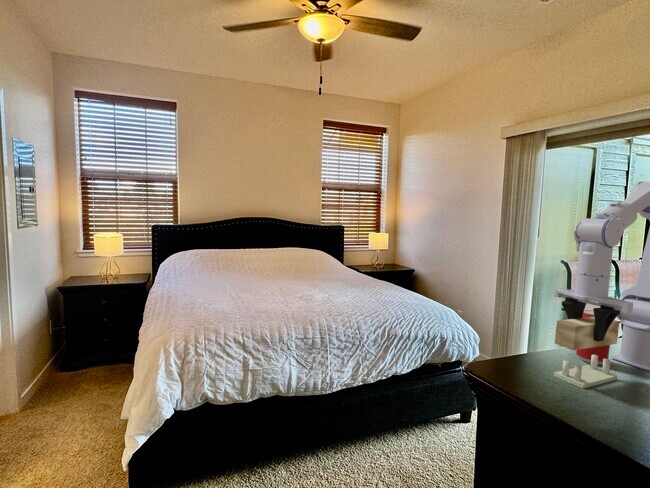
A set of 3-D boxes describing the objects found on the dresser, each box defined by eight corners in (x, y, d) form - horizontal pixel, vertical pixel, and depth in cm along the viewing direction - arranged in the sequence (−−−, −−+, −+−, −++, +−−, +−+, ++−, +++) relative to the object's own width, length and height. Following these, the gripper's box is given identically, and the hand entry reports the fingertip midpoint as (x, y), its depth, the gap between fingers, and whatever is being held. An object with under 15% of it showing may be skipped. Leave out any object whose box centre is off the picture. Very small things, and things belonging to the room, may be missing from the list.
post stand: (587, 368, 84) (589, 352, 83) (617, 379, 78) (618, 362, 78) (553, 375, 79) (555, 359, 78) (582, 388, 73) (584, 370, 73)
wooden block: (597, 337, 83) (599, 316, 82) (616, 343, 79) (619, 321, 79) (554, 343, 78) (557, 320, 77) (573, 350, 74) (575, 326, 74)
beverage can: (577, 362, 87) (582, 313, 86) (574, 353, 93) (578, 307, 92) (610, 368, 84) (615, 317, 83) (604, 359, 90) (609, 311, 89)
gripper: (547, 270, 82) (542, 328, 83) (621, 281, 69) (613, 351, 70) (567, 269, 85) (562, 325, 86) (641, 280, 72) (634, 347, 73)
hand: (586, 336), depth 78 cm, fingers closed on wooden block, 4 cm apart
